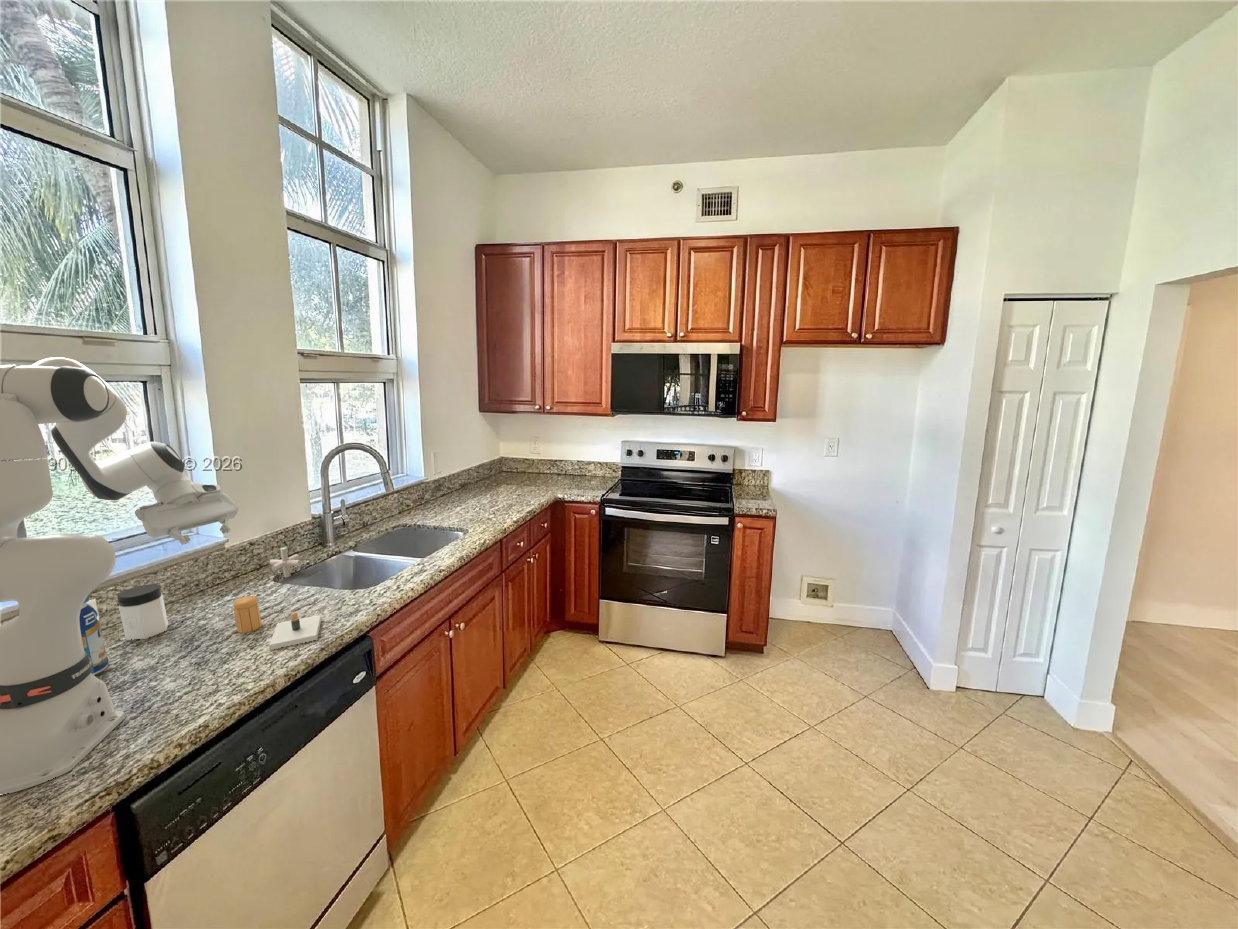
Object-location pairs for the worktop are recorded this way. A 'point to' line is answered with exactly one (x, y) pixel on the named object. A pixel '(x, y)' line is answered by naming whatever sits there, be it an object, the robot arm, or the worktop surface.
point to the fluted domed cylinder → (247, 614)
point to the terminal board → (295, 631)
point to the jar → (142, 611)
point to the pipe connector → (285, 562)
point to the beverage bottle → (92, 638)
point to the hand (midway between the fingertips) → (207, 537)
